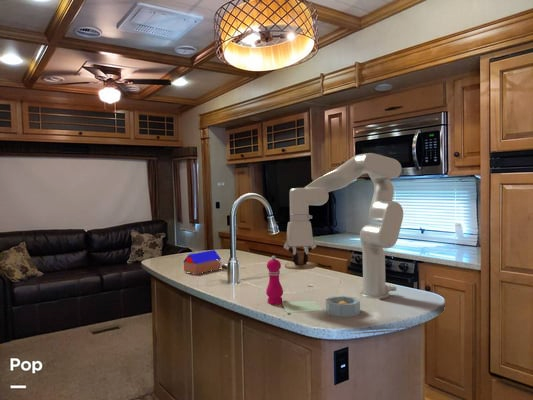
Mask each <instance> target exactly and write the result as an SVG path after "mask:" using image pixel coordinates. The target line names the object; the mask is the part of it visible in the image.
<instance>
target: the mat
mask: <svg viewBox="0 0 533 400" xmlns="http://www.w3.org/2000/svg"><path fill="white" fill-rule="evenodd" d="M281 304H282V306H283V308H284V310H285V312H286V314H287V315H292V313H305V312H322V311H324V310H323V309H322V307H321V306H320V305H319V304H318V303H317V301H315V300H302V301H301V300H300V301H282V303H281Z"/></svg>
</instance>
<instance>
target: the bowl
mask: <svg viewBox="0 0 533 400" xmlns="http://www.w3.org/2000/svg"><path fill="white" fill-rule="evenodd" d="M341 301H344V302H346V303H347V304H338V303H339V302H341ZM325 312H326V313H327V314H328V315H329V316H333V317H338V318H349V317H350V318H351V317H356V316H358V315H359V314H361V301H360V300H359V299H358V298H357V297H353V296H349V295H348V296H347V295H337V296H336V295H335V296H333V295H332V296H330V297H327V298H326V299H325Z"/></svg>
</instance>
